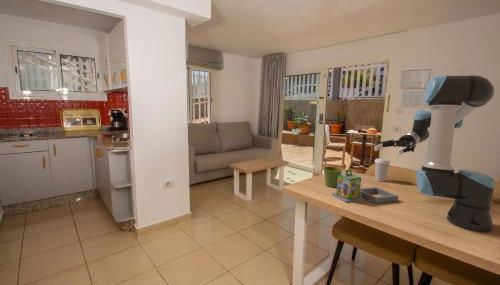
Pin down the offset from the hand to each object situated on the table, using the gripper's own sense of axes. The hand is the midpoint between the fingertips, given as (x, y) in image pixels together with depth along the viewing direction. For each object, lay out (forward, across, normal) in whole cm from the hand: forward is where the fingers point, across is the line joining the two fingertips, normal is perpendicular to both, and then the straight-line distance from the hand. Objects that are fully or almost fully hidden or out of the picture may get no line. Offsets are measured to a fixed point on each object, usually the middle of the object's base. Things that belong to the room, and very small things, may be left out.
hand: (386, 150), depth 133 cm
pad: (+24, +8, -22) cm, 34 cm away
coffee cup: (-23, +22, -33) cm, 46 cm away
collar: (+10, +1, -25) cm, 27 cm away
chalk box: (+24, +8, -21) cm, 33 cm away
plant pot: (+17, +27, -23) cm, 40 cm away
